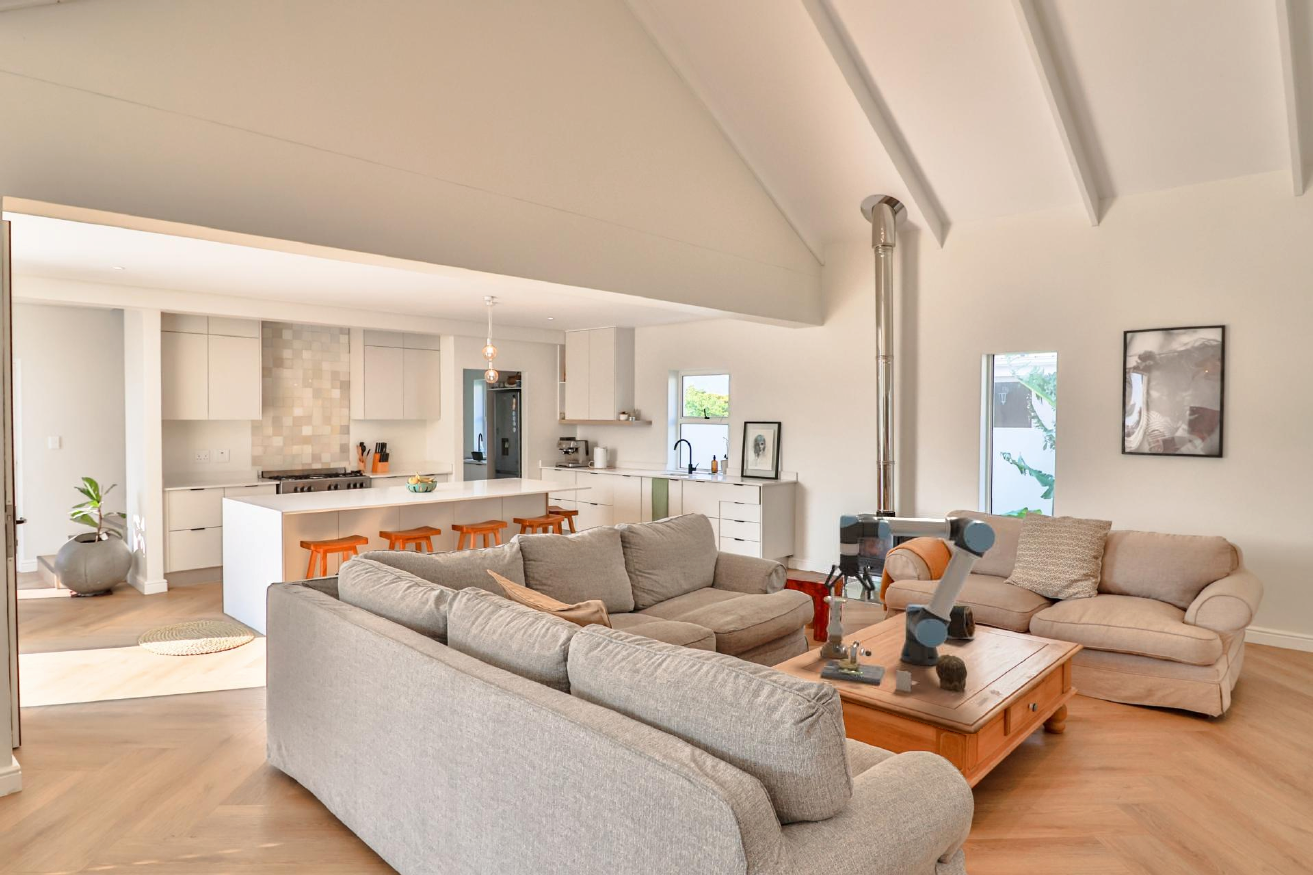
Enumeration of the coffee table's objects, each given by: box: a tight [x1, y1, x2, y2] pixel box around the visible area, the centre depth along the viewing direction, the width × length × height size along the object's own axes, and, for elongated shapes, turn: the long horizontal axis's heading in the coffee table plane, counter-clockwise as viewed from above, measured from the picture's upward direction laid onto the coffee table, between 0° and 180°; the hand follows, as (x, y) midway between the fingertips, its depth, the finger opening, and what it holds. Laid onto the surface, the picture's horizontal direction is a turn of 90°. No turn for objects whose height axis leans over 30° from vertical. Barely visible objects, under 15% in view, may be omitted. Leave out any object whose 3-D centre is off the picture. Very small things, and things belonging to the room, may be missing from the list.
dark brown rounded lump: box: [935, 653, 968, 693], centre depth 293 cm, size 11×11×12 cm
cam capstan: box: [833, 640, 872, 671], centre depth 309 cm, size 14×14×9 cm
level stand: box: [820, 659, 885, 686], centre depth 308 cm, size 22×16×4 cm
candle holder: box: [821, 595, 850, 660], centre depth 334 cm, size 11×11×24 cm
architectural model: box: [895, 669, 919, 693], centre depth 291 cm, size 3×7×7 cm, turn 48°
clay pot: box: [946, 605, 976, 640], centre depth 366 cm, size 15×15×25 cm
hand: (849, 605), depth 316 cm, fingers open, 13 cm apart
